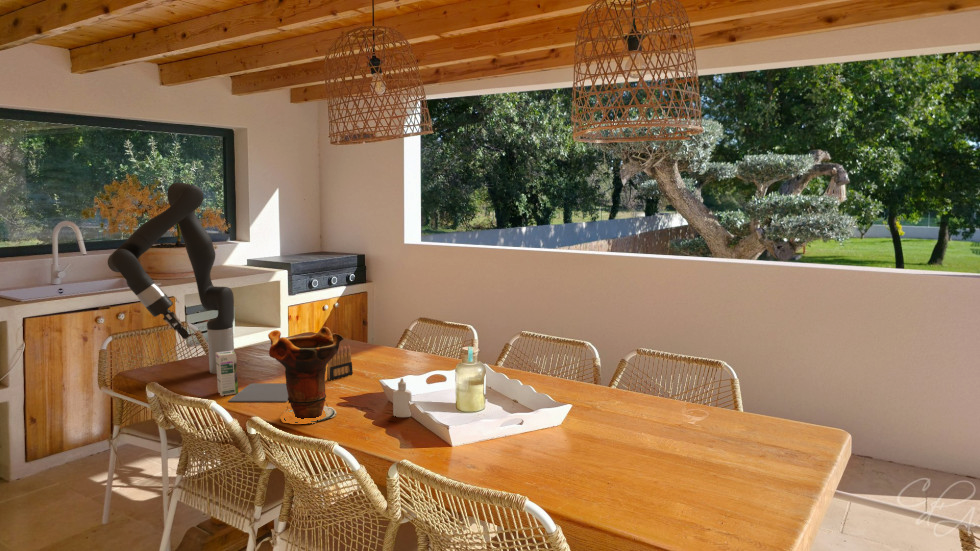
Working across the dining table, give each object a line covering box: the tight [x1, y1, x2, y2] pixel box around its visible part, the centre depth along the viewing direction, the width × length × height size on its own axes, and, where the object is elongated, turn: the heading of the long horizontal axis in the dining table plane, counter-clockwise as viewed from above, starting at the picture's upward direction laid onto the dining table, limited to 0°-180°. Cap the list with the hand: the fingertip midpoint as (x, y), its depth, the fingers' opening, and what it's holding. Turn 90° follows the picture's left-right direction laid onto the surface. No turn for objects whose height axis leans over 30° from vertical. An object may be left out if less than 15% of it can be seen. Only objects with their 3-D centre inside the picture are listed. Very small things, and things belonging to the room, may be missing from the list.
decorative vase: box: [267, 326, 345, 423], centre depth 211 cm, size 21×23×28 cm
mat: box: [228, 382, 289, 403], centre depth 235 cm, size 20×19×1 cm
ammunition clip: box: [326, 343, 354, 381], centre depth 254 cm, size 11×2×12 cm, turn 141°
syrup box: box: [216, 350, 239, 397], centre depth 235 cm, size 6×6×14 cm
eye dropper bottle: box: [392, 377, 413, 418], centre depth 211 cm, size 4×6×12 cm
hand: (186, 336), depth 234 cm, fingers open, 8 cm apart
